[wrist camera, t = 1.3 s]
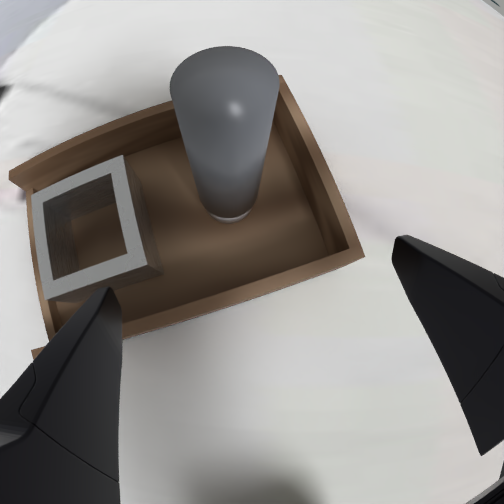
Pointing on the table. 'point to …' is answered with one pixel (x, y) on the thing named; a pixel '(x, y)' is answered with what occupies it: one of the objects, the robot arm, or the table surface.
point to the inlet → (79, 204)
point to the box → (200, 219)
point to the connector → (225, 125)
